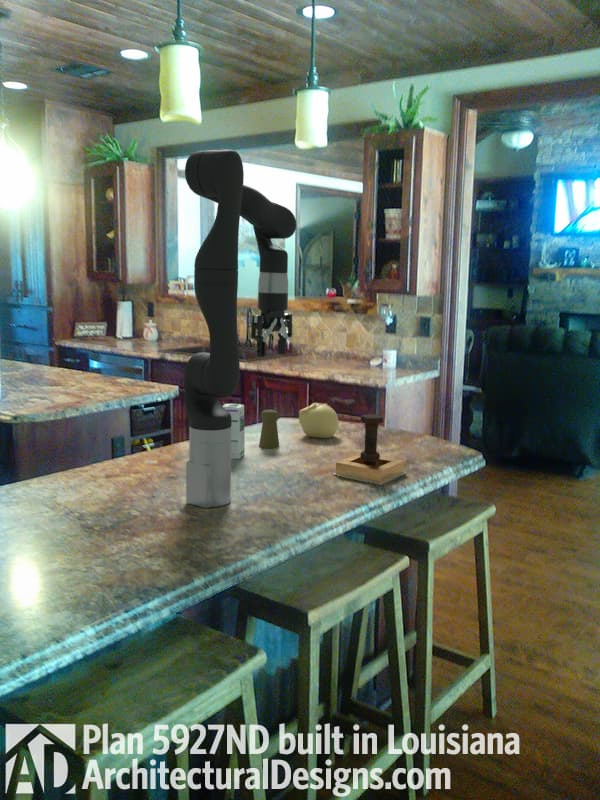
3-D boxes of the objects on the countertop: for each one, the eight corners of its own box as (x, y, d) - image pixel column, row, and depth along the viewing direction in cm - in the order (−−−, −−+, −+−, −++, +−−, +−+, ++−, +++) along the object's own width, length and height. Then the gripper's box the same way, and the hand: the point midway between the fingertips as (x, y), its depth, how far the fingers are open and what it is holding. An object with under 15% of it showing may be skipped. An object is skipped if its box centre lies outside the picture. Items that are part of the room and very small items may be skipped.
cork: (255, 445, 215) (256, 408, 214) (274, 443, 218) (275, 407, 216) (263, 449, 210) (264, 412, 208) (282, 448, 213) (283, 411, 211)
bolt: (380, 470, 189) (383, 414, 187) (380, 476, 184) (383, 418, 182) (358, 469, 190) (360, 413, 187) (357, 474, 185) (360, 417, 182)
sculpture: (320, 431, 237) (321, 398, 235) (345, 438, 228) (346, 404, 226) (293, 435, 230) (294, 401, 228) (317, 442, 221) (318, 408, 219)
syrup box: (239, 459, 198) (240, 407, 196) (218, 458, 199) (219, 406, 197) (244, 454, 204) (245, 404, 201) (224, 453, 205) (224, 402, 202)
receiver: (381, 485, 178) (381, 471, 177) (332, 475, 185) (333, 462, 185) (406, 473, 189) (407, 460, 189) (360, 464, 197) (360, 452, 196)
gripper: (267, 291, 174) (266, 358, 176) (301, 291, 185) (299, 354, 188) (243, 290, 178) (242, 356, 181) (277, 290, 189) (276, 352, 192)
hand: (271, 355), depth 184 cm, fingers open, 8 cm apart
